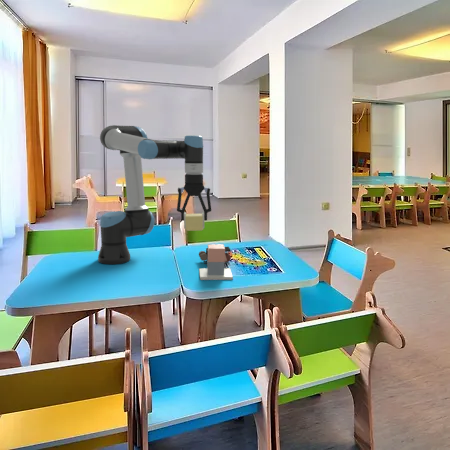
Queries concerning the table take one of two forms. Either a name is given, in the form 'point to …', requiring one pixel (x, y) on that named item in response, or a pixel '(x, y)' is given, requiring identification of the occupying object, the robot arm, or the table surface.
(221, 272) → the grey cube
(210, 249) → the pinkish brown cube
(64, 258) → the table surface
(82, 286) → the table surface
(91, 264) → the table surface
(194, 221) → the brick mustard
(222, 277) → the build plate
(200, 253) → the figurine character
